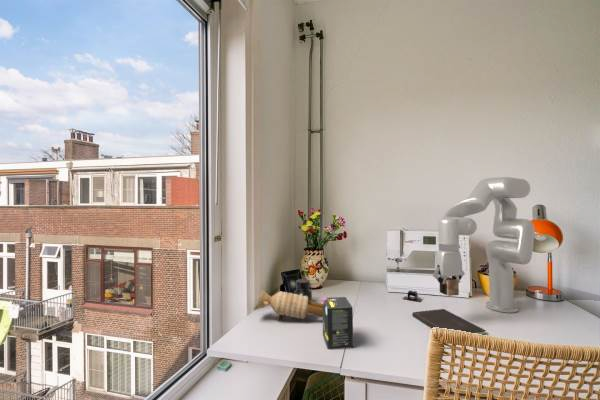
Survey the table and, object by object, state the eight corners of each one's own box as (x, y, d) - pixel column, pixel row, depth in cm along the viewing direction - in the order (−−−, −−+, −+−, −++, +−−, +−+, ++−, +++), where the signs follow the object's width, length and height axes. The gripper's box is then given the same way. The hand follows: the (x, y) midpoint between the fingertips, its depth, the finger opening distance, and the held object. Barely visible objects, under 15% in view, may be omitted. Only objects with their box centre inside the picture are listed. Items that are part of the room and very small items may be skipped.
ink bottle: (316, 304, 147) (315, 280, 147) (306, 309, 140) (306, 284, 140) (299, 300, 152) (299, 277, 152) (289, 306, 145) (289, 281, 145)
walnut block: (449, 291, 124) (449, 277, 124) (458, 294, 120) (458, 280, 120) (439, 292, 123) (439, 277, 123) (448, 295, 118) (448, 280, 118)
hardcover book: (443, 313, 134) (443, 308, 134) (485, 336, 111) (485, 330, 111) (412, 317, 130) (412, 312, 130) (449, 341, 108) (449, 335, 108)
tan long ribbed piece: (324, 324, 132) (259, 311, 133) (329, 297, 132) (263, 284, 133) (325, 334, 122) (255, 320, 123) (331, 305, 122) (260, 291, 123)
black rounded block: (427, 300, 151) (426, 291, 151) (423, 304, 145) (423, 295, 146) (402, 296, 159) (402, 287, 159) (398, 300, 153) (398, 291, 153)
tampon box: (322, 335, 113) (321, 297, 113) (346, 334, 114) (345, 296, 114) (327, 349, 102) (326, 307, 102) (353, 348, 103) (353, 306, 103)
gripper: (458, 246, 127) (459, 288, 127) (424, 247, 123) (425, 291, 123) (473, 248, 120) (473, 293, 120) (437, 250, 116) (438, 297, 116)
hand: (449, 291), depth 121 cm, fingers closed on walnut block, 5 cm apart
